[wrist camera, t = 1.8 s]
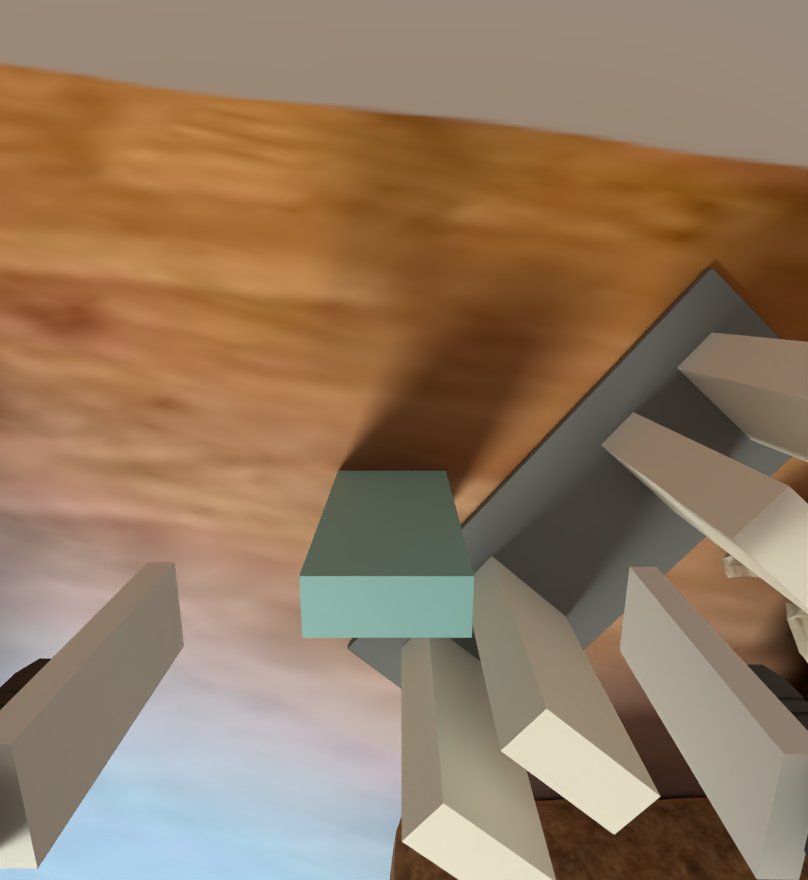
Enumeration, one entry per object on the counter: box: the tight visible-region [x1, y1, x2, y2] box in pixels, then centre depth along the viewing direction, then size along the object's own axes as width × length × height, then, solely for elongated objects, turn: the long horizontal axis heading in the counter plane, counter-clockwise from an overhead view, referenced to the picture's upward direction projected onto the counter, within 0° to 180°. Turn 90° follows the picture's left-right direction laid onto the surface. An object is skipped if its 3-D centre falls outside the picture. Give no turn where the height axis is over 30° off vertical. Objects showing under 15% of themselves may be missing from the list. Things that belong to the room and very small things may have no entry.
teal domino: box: [299, 471, 474, 638], centre depth 21 cm, size 2×5×10 cm, turn 90°
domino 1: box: [401, 638, 556, 880], centre depth 22 cm, size 2×5×10 cm, turn 49°
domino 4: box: [601, 412, 808, 614], centre depth 20 cm, size 2×5×10 cm, turn 49°
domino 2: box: [472, 556, 660, 835], centre depth 22 cm, size 2×5×10 cm, turn 49°
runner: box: [348, 268, 792, 688], centre depth 26 cm, size 24×9×1 cm, turn 139°
